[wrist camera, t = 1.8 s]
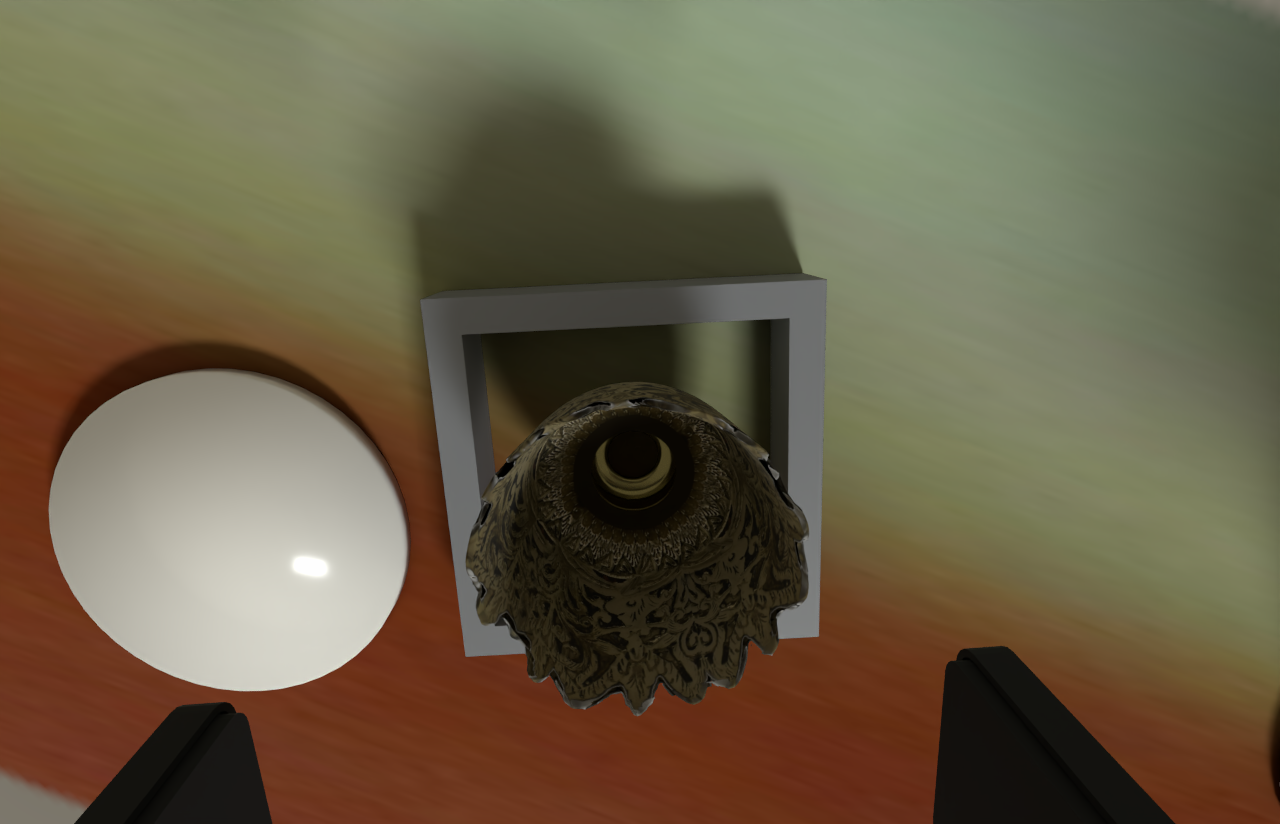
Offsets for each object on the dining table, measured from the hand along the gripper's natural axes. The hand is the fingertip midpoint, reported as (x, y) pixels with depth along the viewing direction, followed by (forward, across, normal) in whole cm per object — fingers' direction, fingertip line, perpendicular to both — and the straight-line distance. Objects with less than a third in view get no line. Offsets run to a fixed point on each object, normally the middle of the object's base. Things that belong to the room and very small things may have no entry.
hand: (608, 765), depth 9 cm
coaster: (+14, +12, +2) cm, 19 cm away
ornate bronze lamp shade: (+14, -1, 0) cm, 14 cm away
